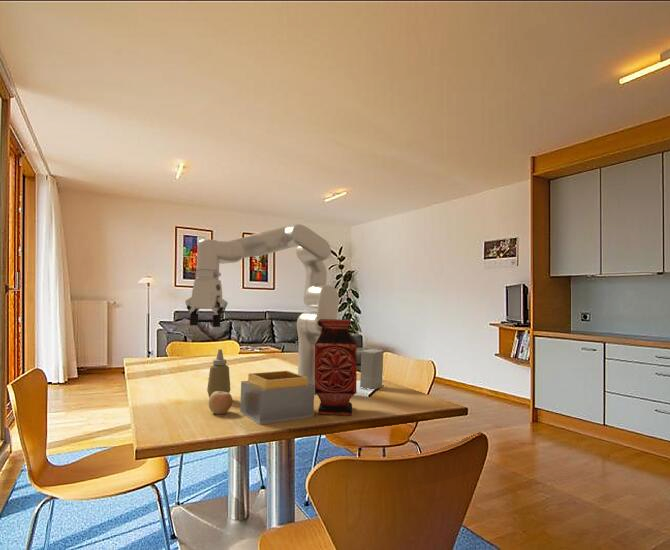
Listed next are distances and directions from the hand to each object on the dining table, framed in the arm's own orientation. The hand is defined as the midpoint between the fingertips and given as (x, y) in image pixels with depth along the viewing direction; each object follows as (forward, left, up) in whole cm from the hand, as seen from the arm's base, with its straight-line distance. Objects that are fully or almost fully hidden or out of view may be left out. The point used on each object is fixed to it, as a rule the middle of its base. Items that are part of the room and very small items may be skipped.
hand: (204, 326), depth 153 cm
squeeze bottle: (-8, -6, -27) cm, 29 cm away
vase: (-37, +26, -27) cm, 53 cm away
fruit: (-3, +11, -27) cm, 29 cm away
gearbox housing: (-18, +21, -27) cm, 39 cm away
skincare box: (-71, +1, -27) cm, 76 cm away
